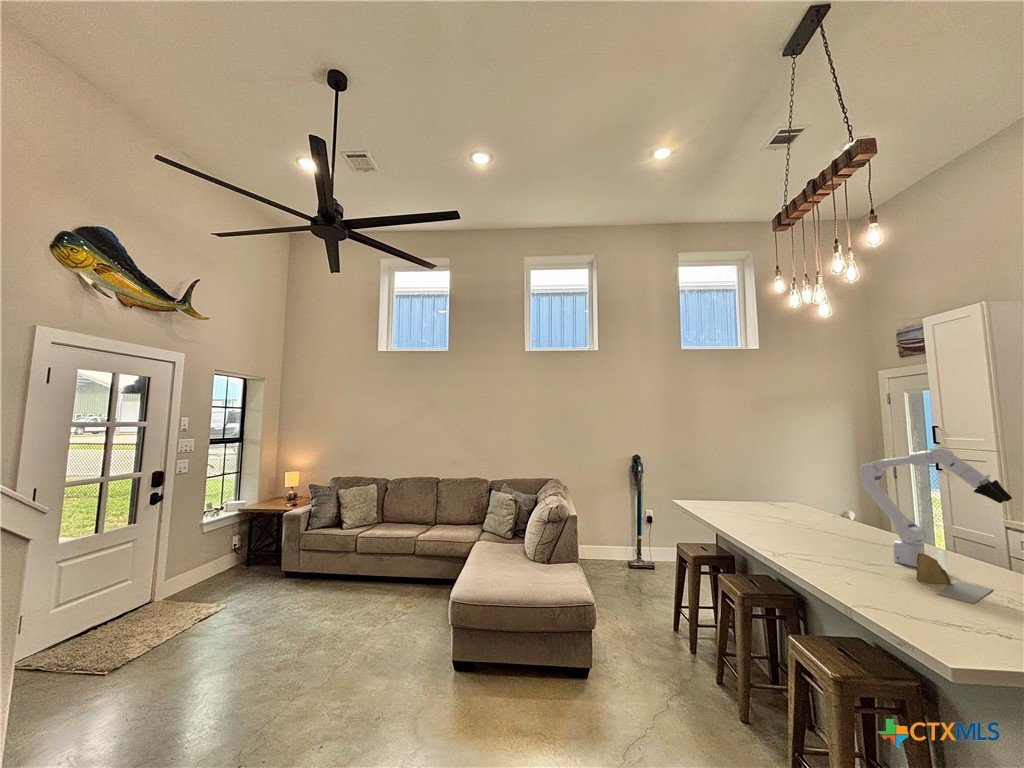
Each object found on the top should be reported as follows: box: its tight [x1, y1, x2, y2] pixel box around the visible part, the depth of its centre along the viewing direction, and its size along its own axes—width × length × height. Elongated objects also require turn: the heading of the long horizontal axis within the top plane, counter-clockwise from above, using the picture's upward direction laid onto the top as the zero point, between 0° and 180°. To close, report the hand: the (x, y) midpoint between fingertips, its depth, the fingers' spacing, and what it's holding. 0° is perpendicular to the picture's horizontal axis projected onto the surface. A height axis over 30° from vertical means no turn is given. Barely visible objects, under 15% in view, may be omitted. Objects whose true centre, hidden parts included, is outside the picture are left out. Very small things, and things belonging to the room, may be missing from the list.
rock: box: [916, 553, 953, 584], centre depth 160 cm, size 11×9×10 cm
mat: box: [936, 580, 994, 605], centre depth 151 cm, size 9×24×1 cm, turn 121°
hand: (1006, 500), depth 157 cm, fingers open, 7 cm apart
